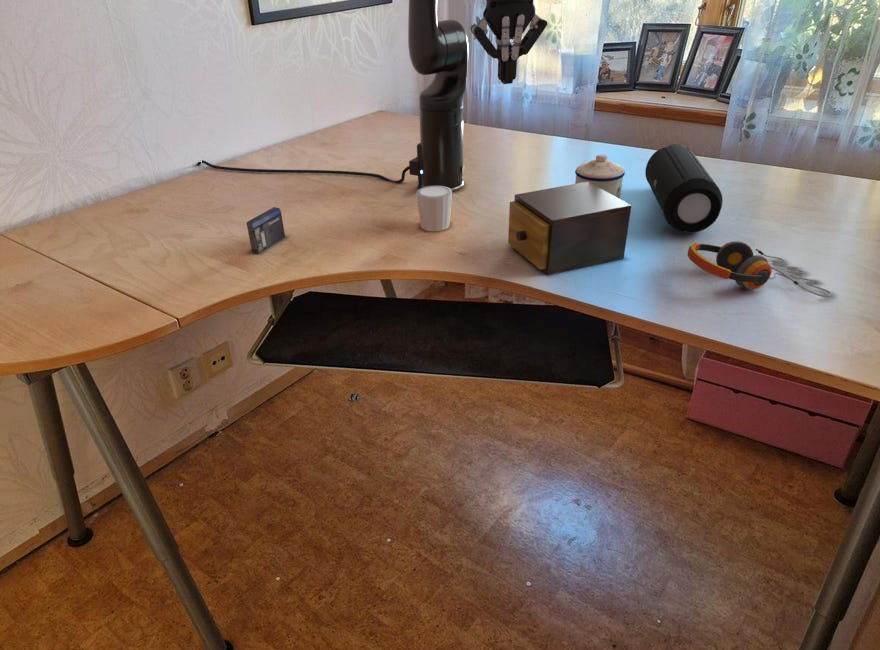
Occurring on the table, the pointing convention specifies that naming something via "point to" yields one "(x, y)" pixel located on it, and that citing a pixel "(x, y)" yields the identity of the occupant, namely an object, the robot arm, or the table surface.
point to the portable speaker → (683, 189)
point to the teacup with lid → (601, 174)
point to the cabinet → (580, 225)
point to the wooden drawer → (528, 234)
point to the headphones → (743, 265)
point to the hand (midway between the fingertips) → (506, 82)
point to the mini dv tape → (265, 230)
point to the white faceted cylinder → (434, 207)
